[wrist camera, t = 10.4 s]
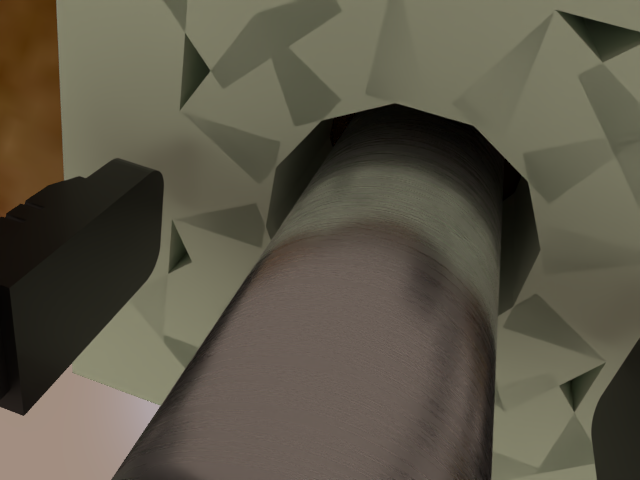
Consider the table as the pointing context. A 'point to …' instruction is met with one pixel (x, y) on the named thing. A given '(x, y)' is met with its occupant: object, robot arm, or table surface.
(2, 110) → the table surface
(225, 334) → the cylinder
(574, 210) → the pale green flat block
